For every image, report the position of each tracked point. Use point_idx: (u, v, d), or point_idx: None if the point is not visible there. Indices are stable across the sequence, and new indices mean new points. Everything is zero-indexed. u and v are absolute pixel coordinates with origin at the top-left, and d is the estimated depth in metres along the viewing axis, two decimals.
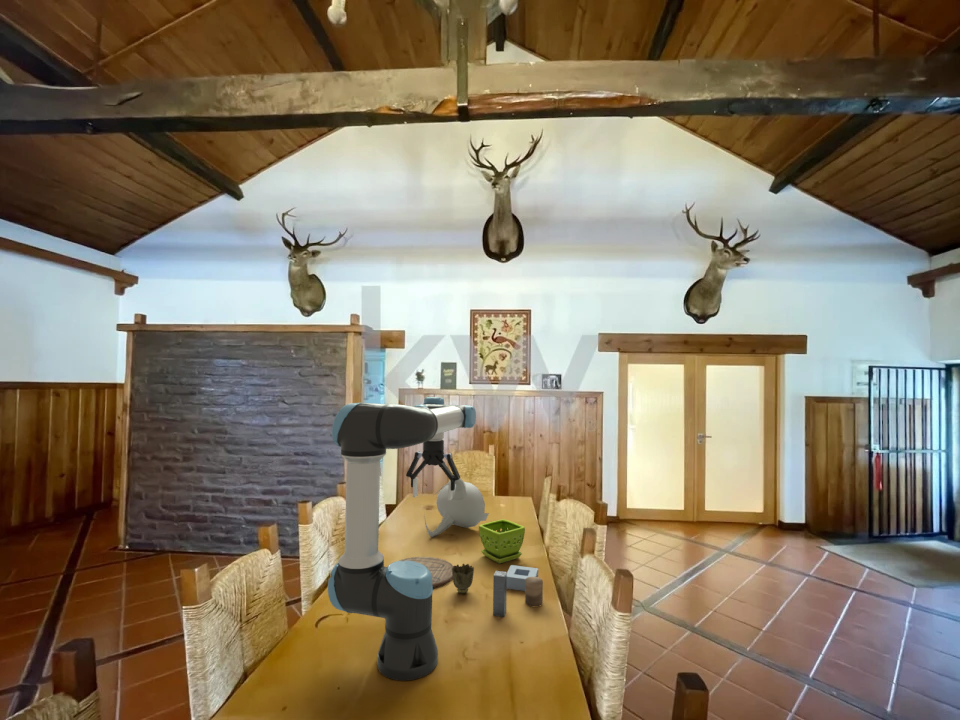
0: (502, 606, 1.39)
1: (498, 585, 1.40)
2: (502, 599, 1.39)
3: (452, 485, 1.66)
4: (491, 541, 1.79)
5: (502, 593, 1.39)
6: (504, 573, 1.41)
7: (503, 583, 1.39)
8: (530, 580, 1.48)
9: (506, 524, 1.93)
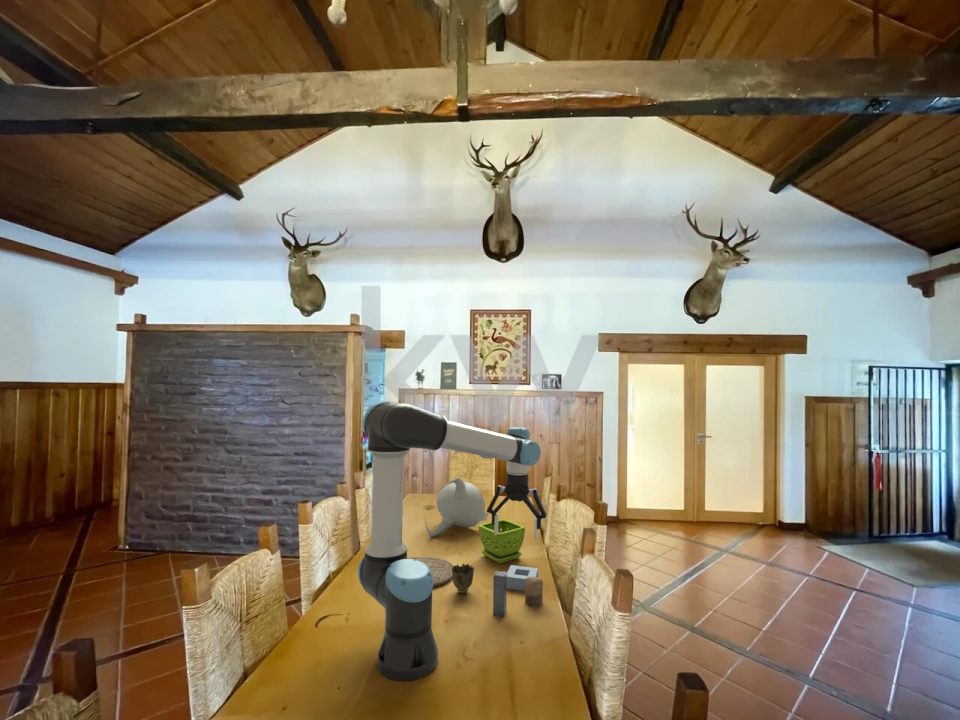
0: (502, 606, 1.39)
1: (498, 585, 1.40)
2: (502, 599, 1.39)
3: (538, 523, 1.54)
4: (491, 541, 1.79)
5: (502, 593, 1.39)
6: (504, 573, 1.41)
7: (503, 583, 1.39)
8: (530, 580, 1.48)
9: (506, 524, 1.93)
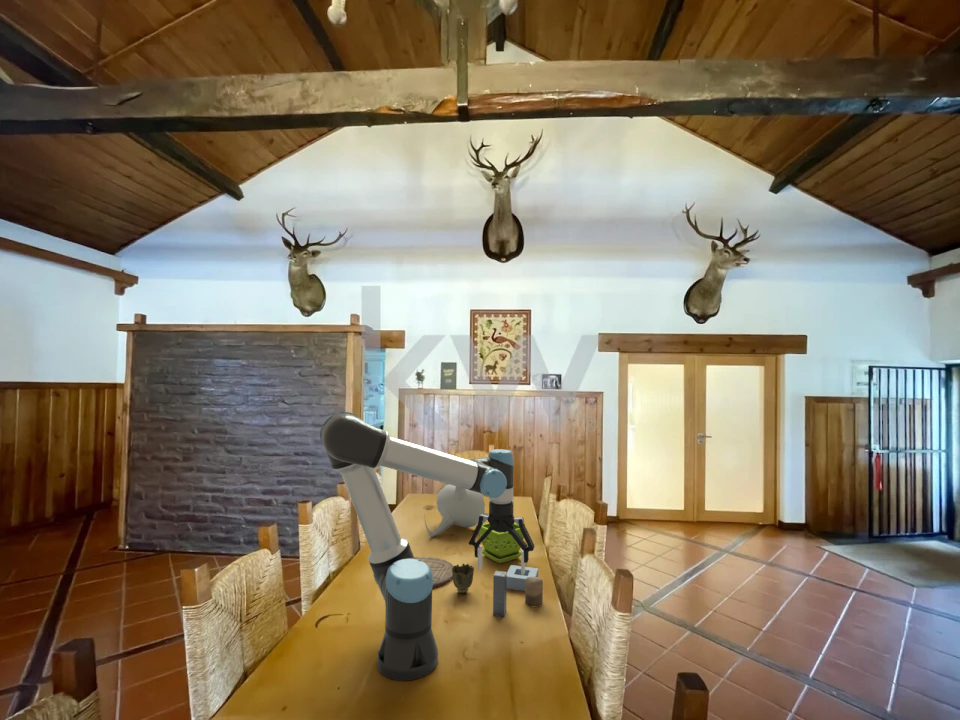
0: (502, 606, 1.39)
1: (498, 585, 1.40)
2: (502, 599, 1.39)
3: (525, 556, 1.39)
4: (491, 541, 1.79)
5: (502, 593, 1.39)
6: (504, 573, 1.41)
7: (503, 583, 1.39)
8: (530, 580, 1.48)
9: None
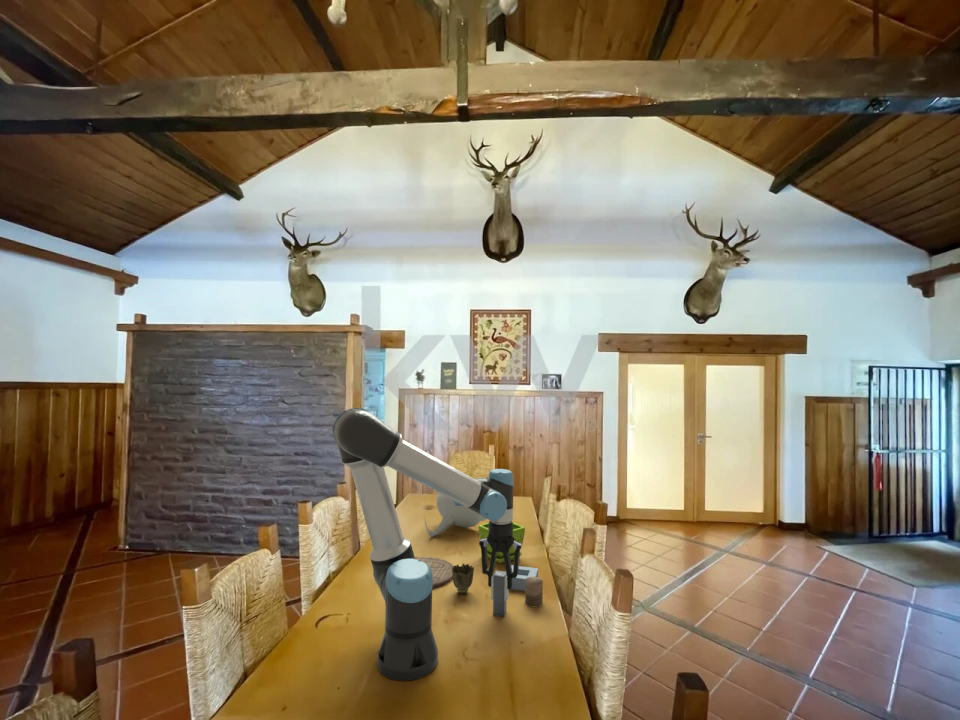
0: (502, 606, 1.39)
1: (498, 585, 1.40)
2: (502, 599, 1.39)
3: (509, 583, 1.40)
4: None
5: (502, 593, 1.39)
6: (504, 573, 1.41)
7: (503, 583, 1.39)
8: (530, 580, 1.48)
9: None
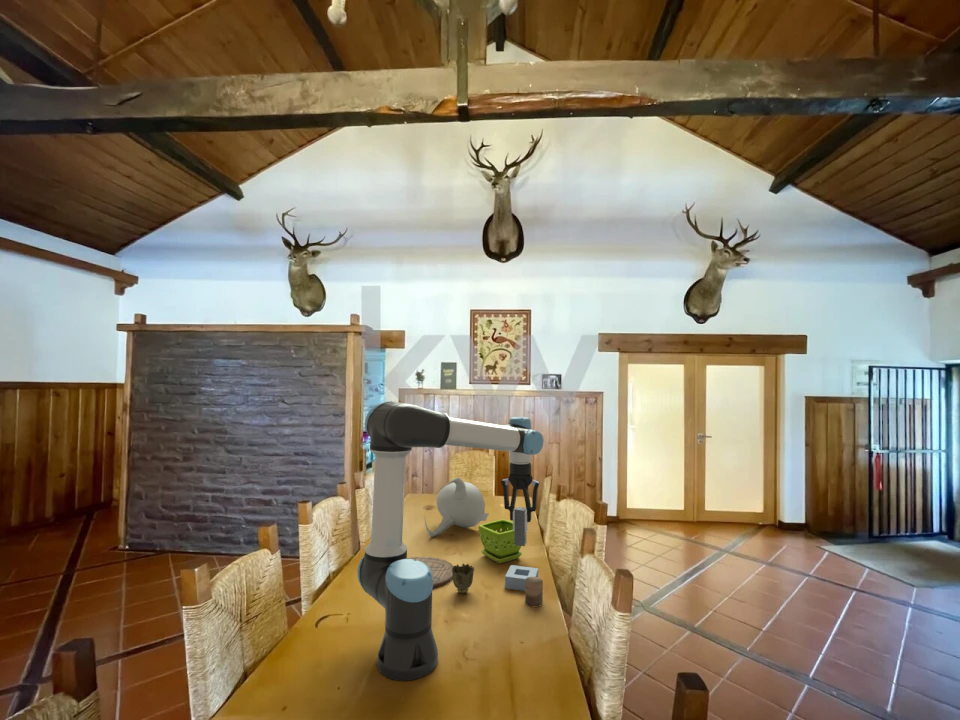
0: (523, 536, 1.56)
1: (519, 518, 1.57)
2: (523, 530, 1.57)
3: (528, 516, 1.57)
4: (491, 541, 1.79)
5: (522, 525, 1.57)
6: (524, 508, 1.59)
7: (523, 516, 1.57)
8: (530, 580, 1.48)
9: (506, 524, 1.93)
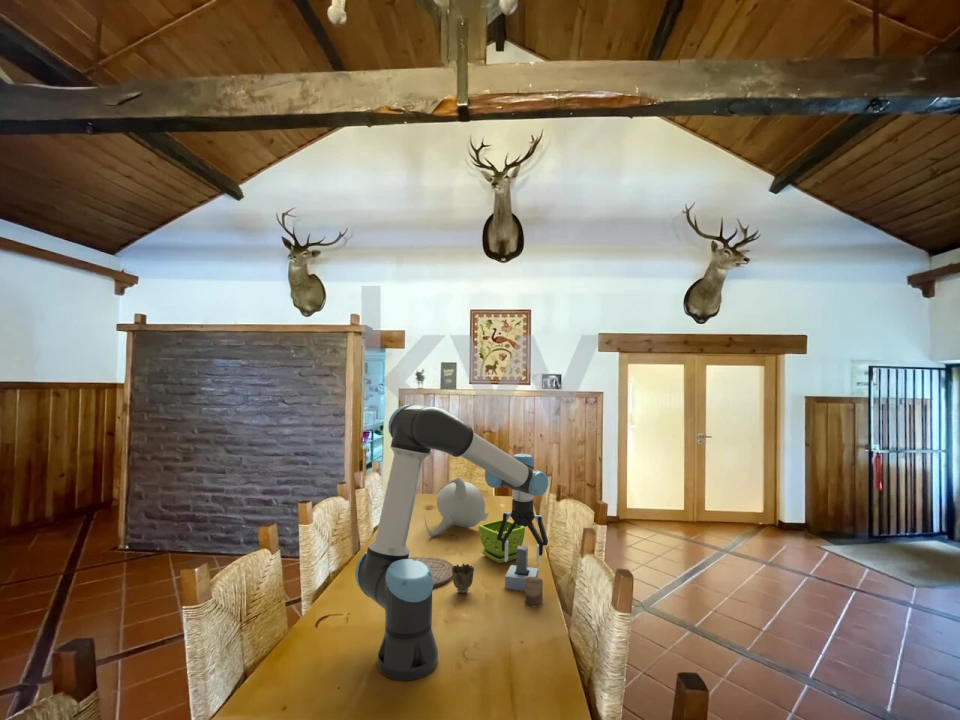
0: None
1: (521, 558, 1.60)
2: (524, 569, 1.60)
3: (540, 550, 1.59)
4: (491, 541, 1.79)
5: (524, 564, 1.60)
6: (526, 547, 1.62)
7: (525, 556, 1.60)
8: (530, 580, 1.48)
9: (506, 524, 1.93)
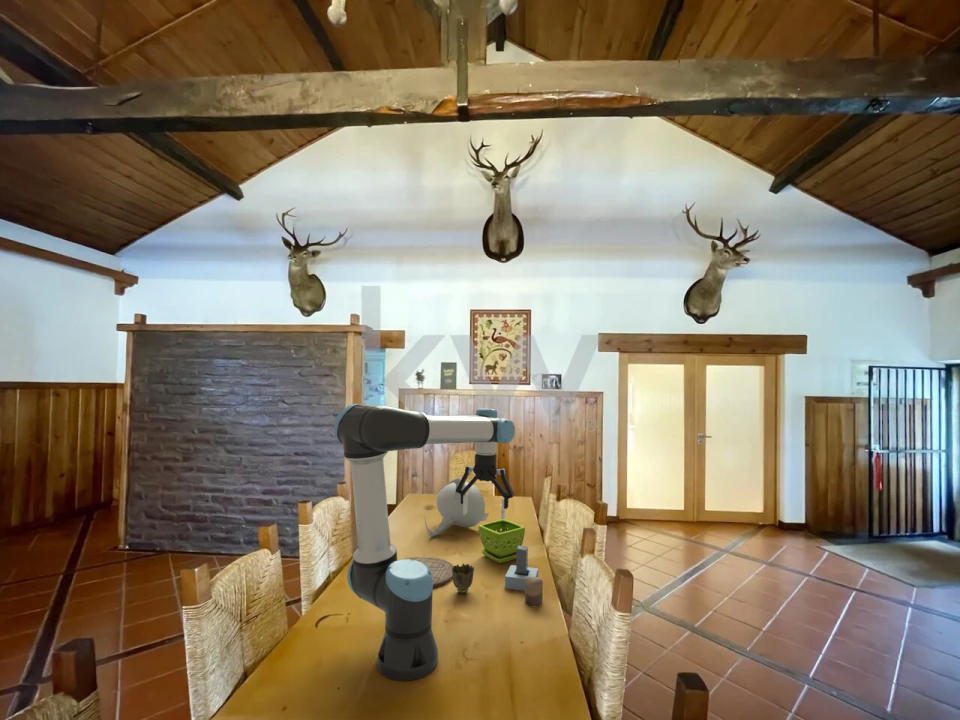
0: None
1: (521, 558, 1.60)
2: (524, 569, 1.60)
3: (505, 503, 1.55)
4: (491, 541, 1.79)
5: (524, 564, 1.60)
6: (526, 547, 1.62)
7: (525, 556, 1.60)
8: (530, 580, 1.48)
9: (506, 524, 1.93)
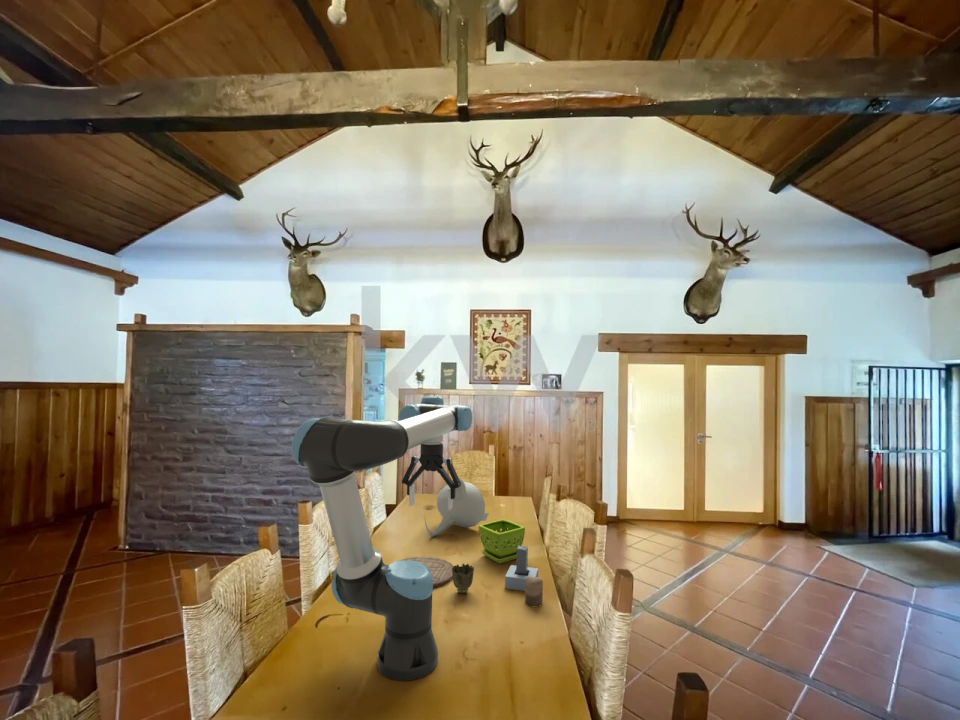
0: None
1: (521, 558, 1.60)
2: (524, 569, 1.60)
3: (452, 493, 1.51)
4: (491, 541, 1.79)
5: (524, 564, 1.60)
6: (526, 547, 1.62)
7: (525, 556, 1.60)
8: (530, 580, 1.48)
9: (506, 524, 1.93)
